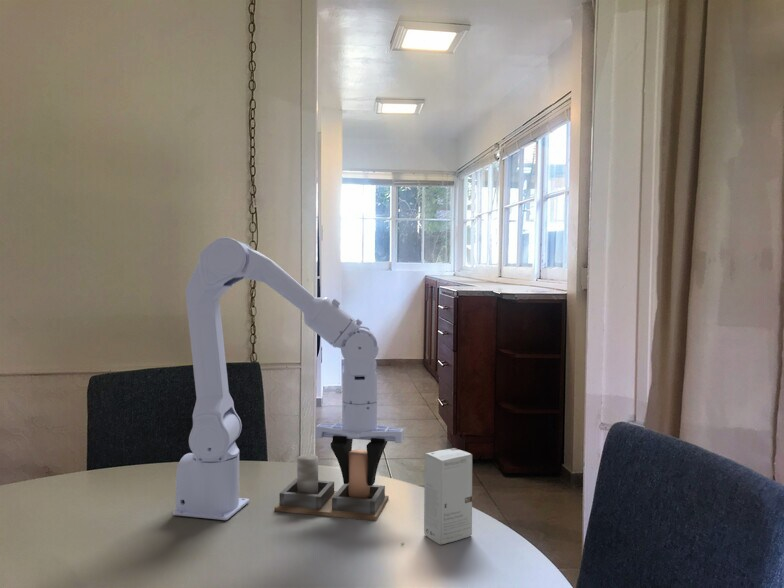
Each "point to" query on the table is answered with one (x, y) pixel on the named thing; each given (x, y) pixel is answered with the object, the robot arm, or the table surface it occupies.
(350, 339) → the robot arm
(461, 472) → the skincare box
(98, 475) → the table surface
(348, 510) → the tube rack
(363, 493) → the terracotta tube
